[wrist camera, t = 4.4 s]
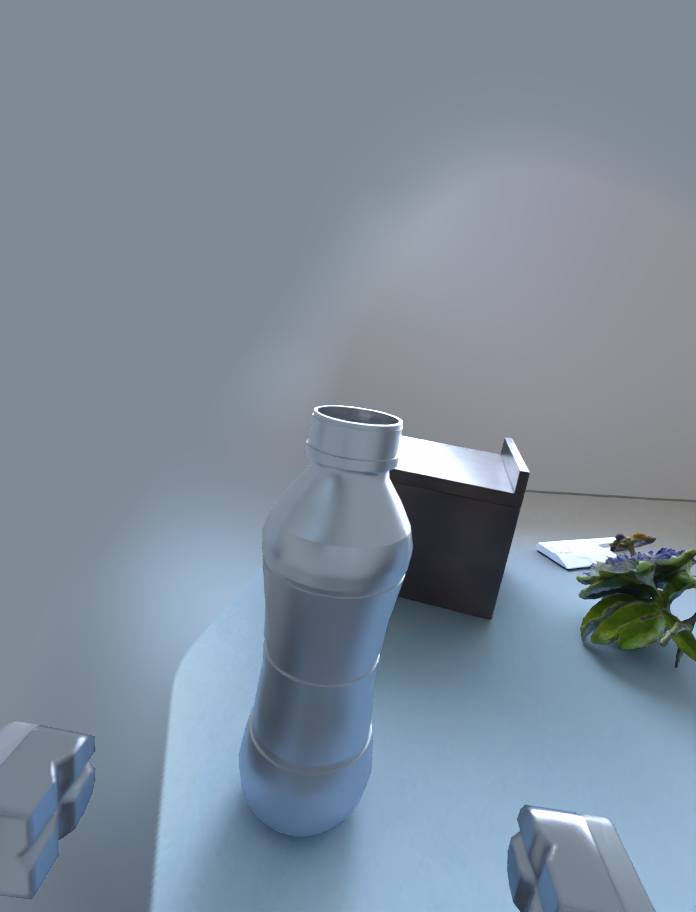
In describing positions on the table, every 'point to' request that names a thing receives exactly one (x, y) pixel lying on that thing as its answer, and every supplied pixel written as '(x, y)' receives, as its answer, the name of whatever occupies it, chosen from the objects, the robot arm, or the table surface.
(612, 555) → the white plastic strip tool
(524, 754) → the table surface
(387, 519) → the plastic bottle
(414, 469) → the block with raised lip
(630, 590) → the passion flower
